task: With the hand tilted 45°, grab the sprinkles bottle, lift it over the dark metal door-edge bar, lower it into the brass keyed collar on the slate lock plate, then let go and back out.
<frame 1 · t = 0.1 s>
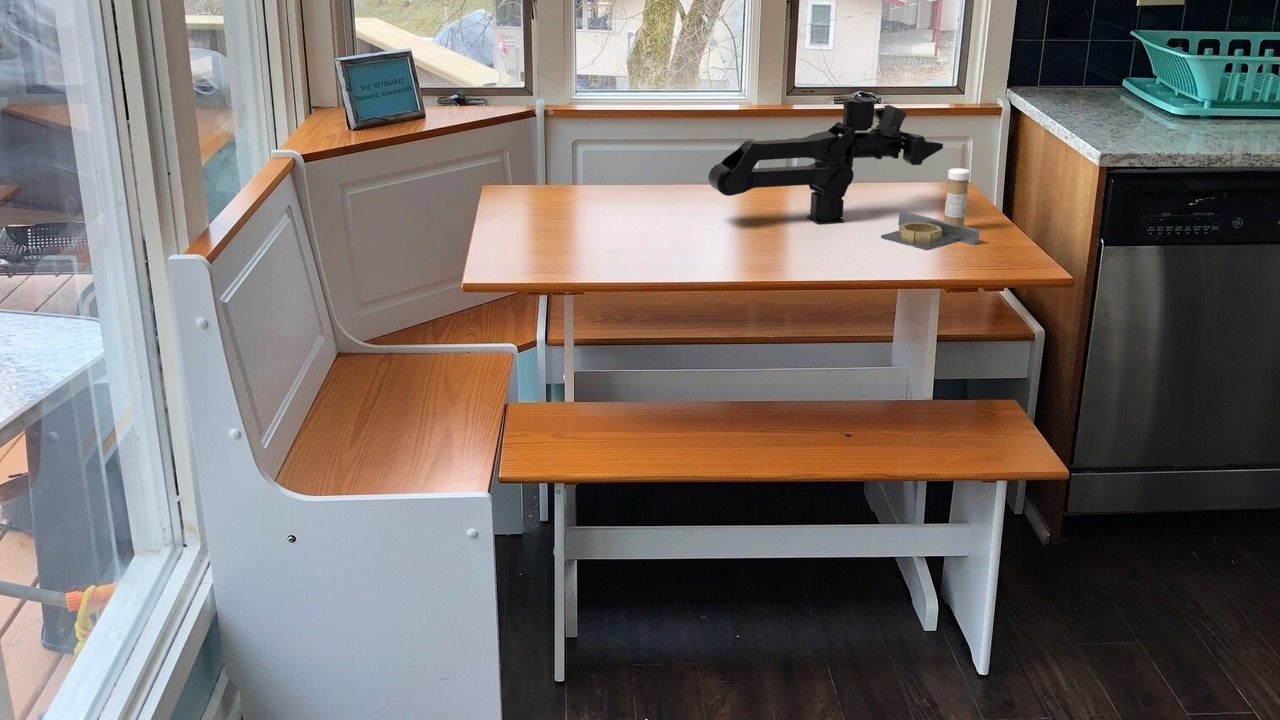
hand: (932, 142, 275), 17 cm above the table, tool horizontal, fingers open, 9 cm apart
lock plate: (919, 239, 260), on the table
sprinkles bottle: (953, 230, 267), on the table
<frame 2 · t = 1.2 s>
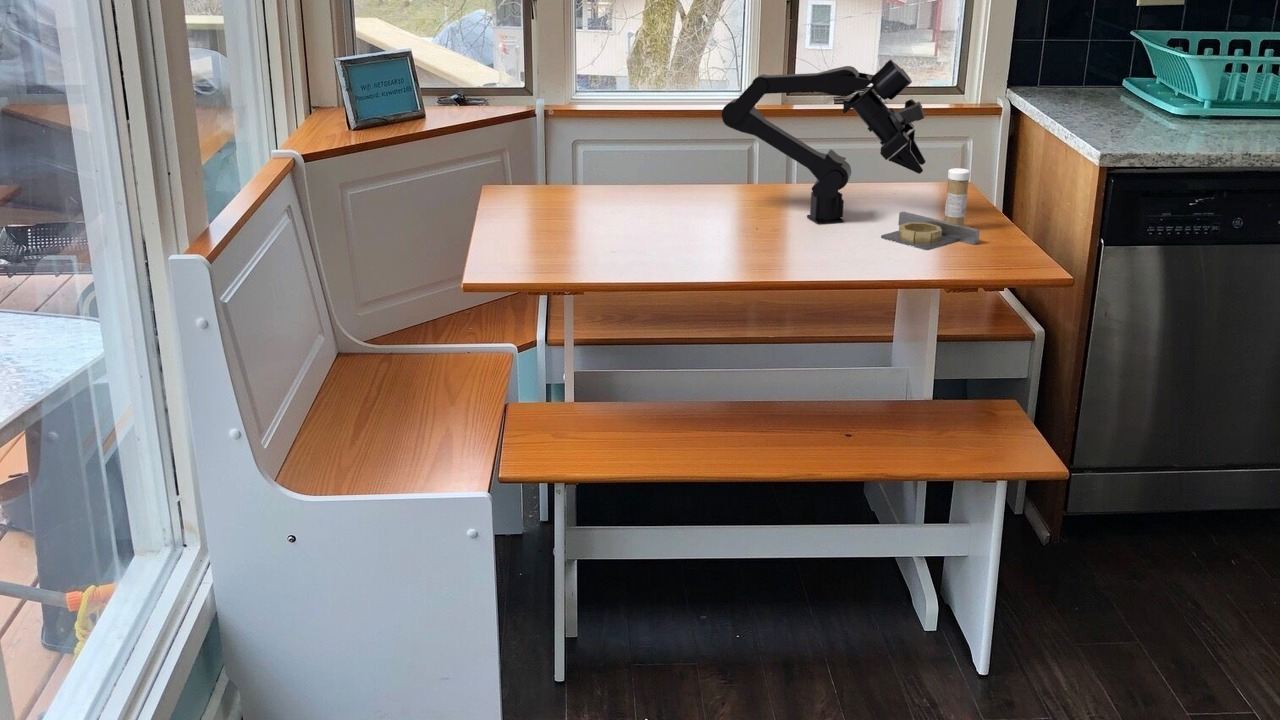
hand: (922, 167, 264), 13 cm above the table, tool tilted 45°, fingers open, 9 cm apart
nothing on the table moved.
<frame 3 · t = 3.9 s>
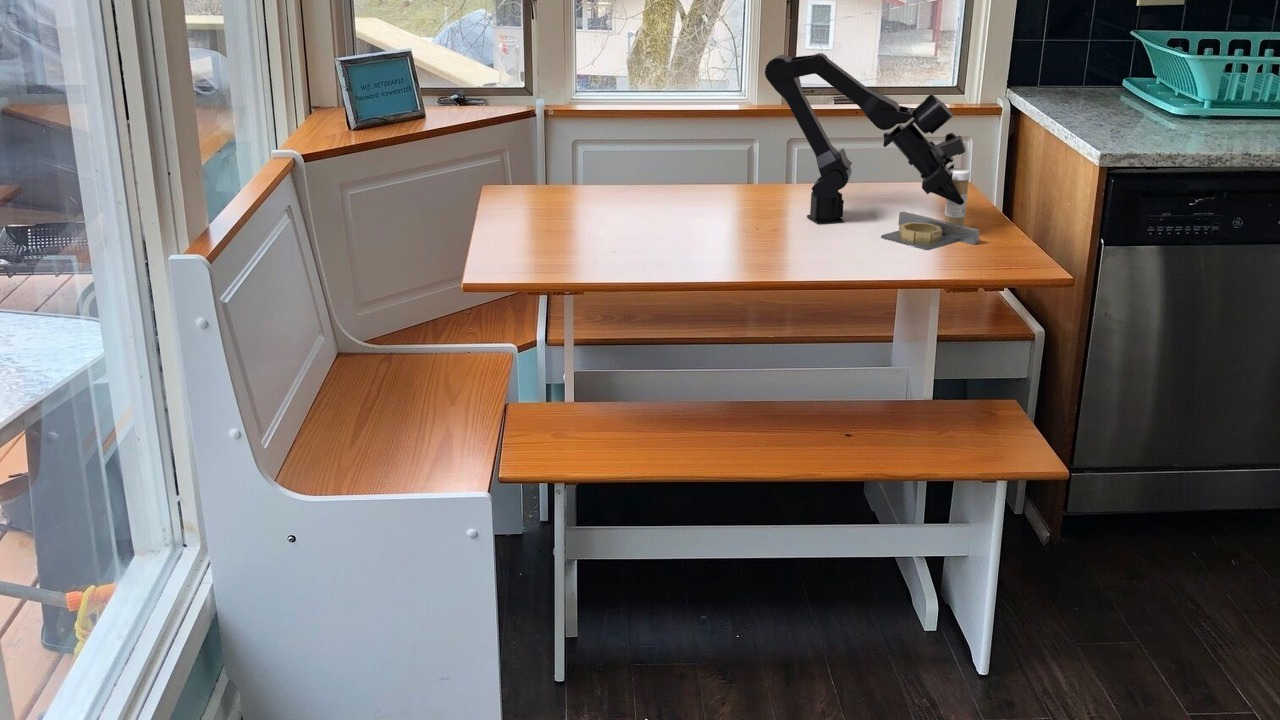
hand: (962, 201, 264), 7 cm above the table, tool tilted 45°, fingers closed on sprinkles bottle, 4 cm apart
sprinkles bottle: (953, 230, 267), on the table, touching gripper
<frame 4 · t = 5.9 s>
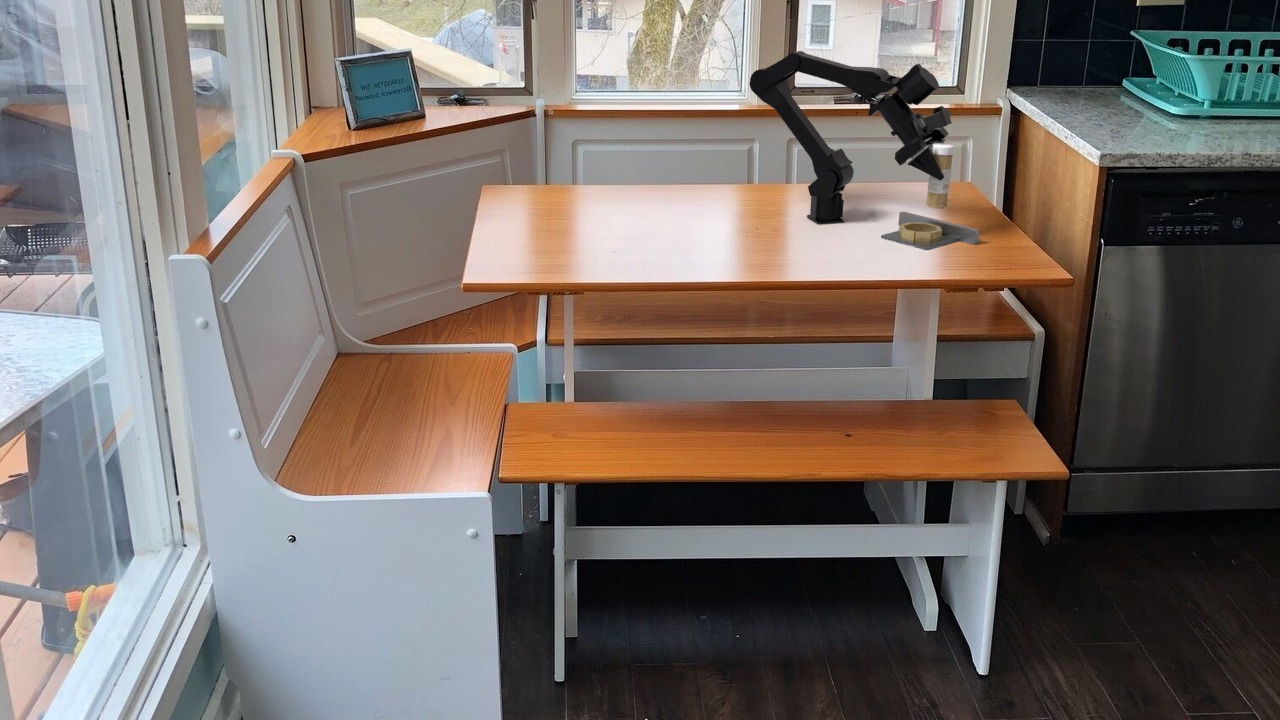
hand: (945, 177, 257), 13 cm above the table, tool tilted 45°, fingers closed on sprinkles bottle, 4 cm apart
sprinkles bottle: (936, 207, 260), point 6 cm above the table, touching gripper
when the fingers open (8 cm above the table, at t = 7.8 s): sprinkles bottle drops 1 cm, resting on lock plate.
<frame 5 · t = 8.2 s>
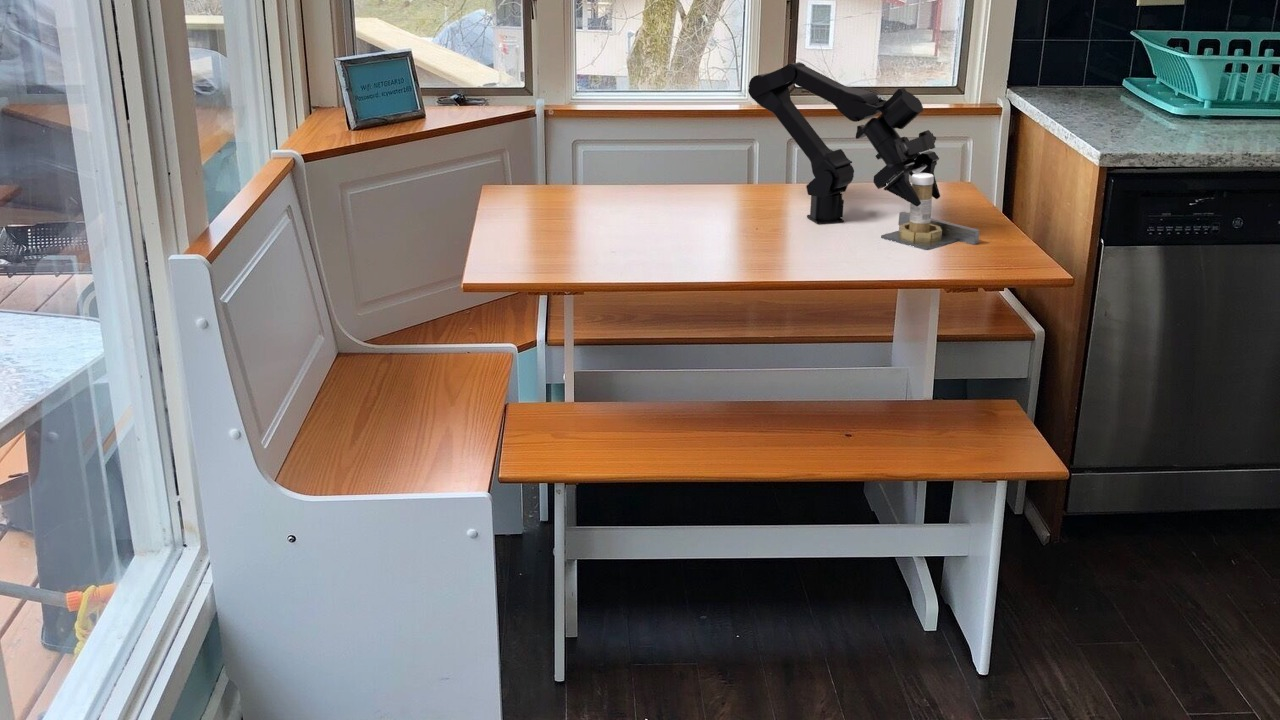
hand: (928, 201, 256), 9 cm above the table, tool tilted 45°, fingers open, 8 cm apart
sprinkles bottle: (918, 237, 260), resting on lock plate
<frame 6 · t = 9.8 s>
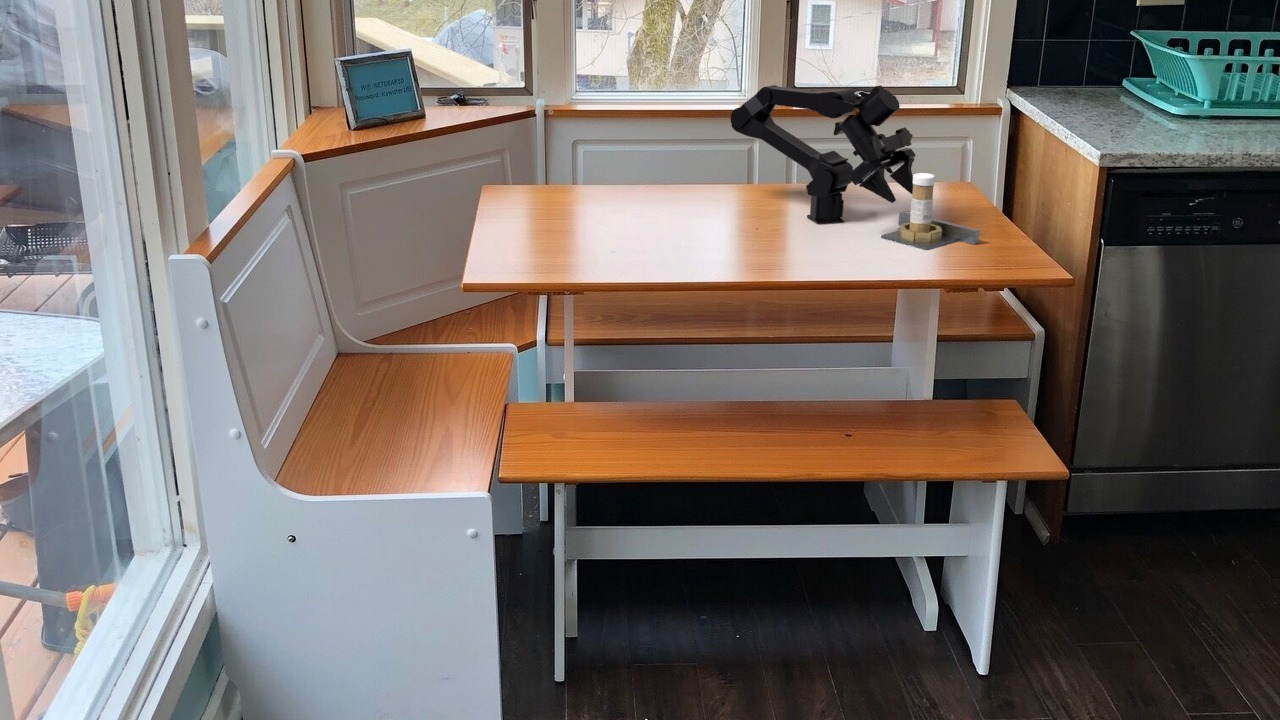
hand: (904, 197, 259), 8 cm above the table, tool tilted 45°, fingers open, 9 cm apart
nothing on the table moved.
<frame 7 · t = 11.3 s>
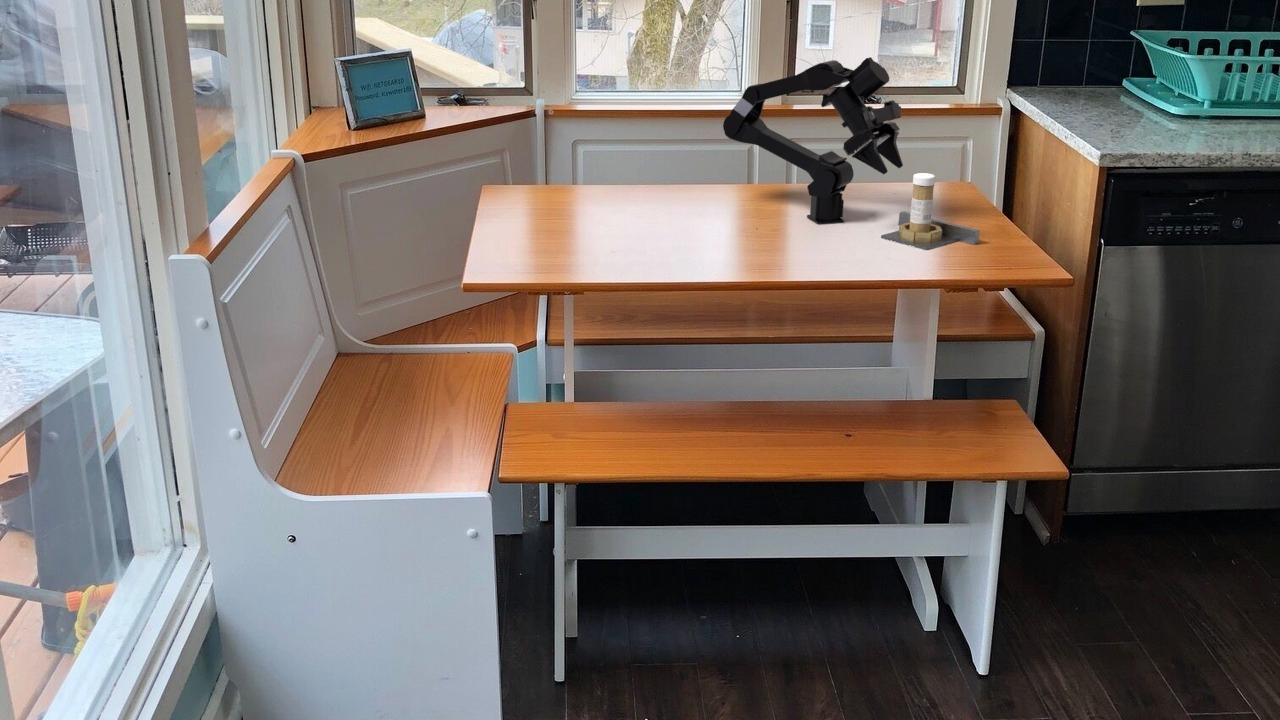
hand: (893, 170, 261), 14 cm above the table, tool tilted 40°, fingers open, 9 cm apart
nothing on the table moved.
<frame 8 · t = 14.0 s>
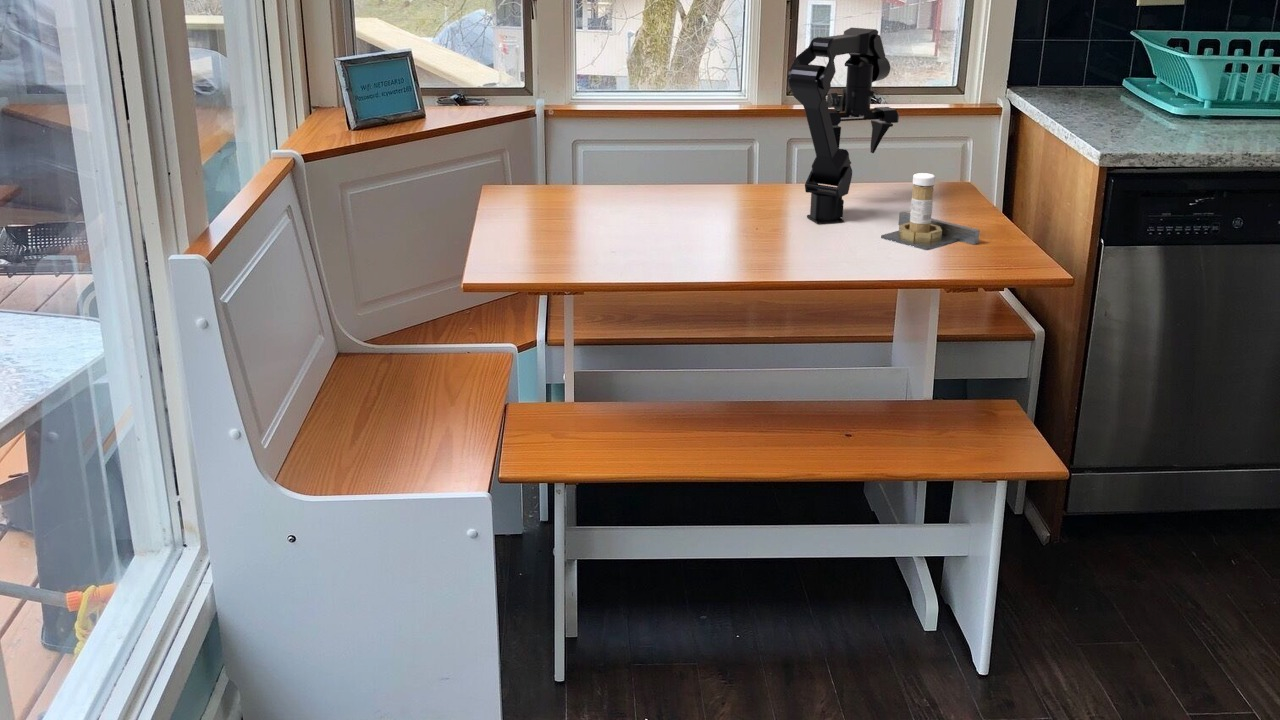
hand: (854, 153, 279), 13 cm above the table, tool pointing down, fingers open, 9 cm apart
nothing on the table moved.
at the end: sprinkles bottle 0.2 cm off-centre on the lock plate, point 0.4 cm above the lock plate's base; sprinkles bottle tilted 0°; the gripper is holding nothing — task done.
